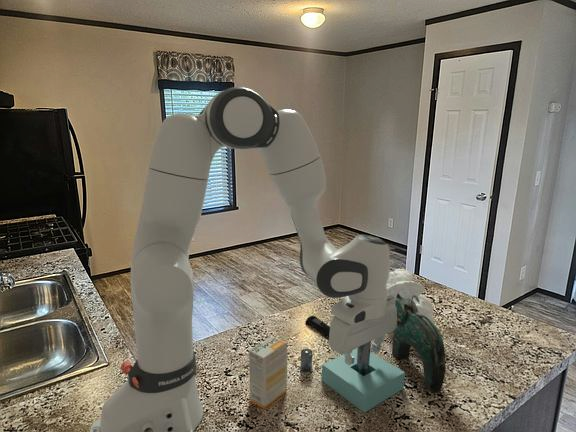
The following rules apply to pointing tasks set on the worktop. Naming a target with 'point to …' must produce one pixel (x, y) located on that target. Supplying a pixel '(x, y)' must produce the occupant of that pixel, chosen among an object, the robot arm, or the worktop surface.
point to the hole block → (363, 380)
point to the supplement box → (268, 371)
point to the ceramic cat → (419, 341)
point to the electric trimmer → (318, 325)
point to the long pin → (363, 359)
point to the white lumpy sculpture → (409, 291)
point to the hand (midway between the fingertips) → (363, 356)
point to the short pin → (306, 360)
